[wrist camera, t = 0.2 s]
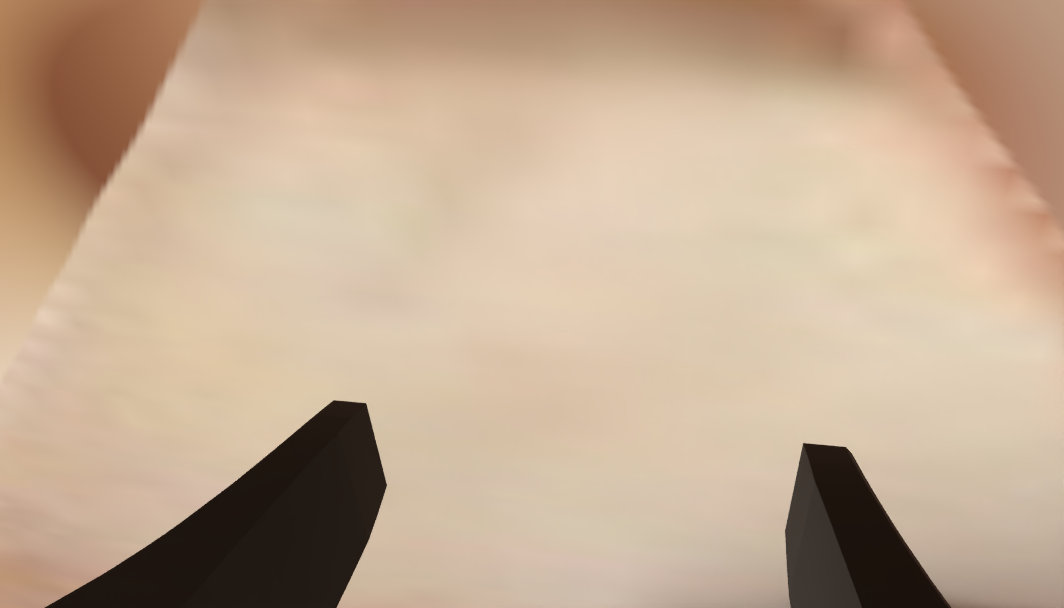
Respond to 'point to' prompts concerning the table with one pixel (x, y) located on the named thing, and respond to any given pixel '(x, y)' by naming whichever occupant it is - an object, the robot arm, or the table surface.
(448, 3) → the table surface
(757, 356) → the table surface
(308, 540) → the robot arm
